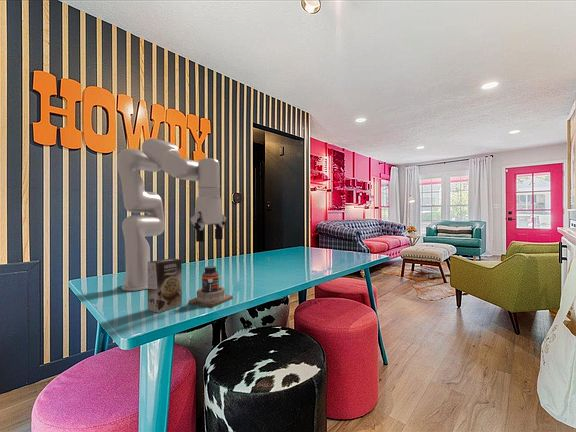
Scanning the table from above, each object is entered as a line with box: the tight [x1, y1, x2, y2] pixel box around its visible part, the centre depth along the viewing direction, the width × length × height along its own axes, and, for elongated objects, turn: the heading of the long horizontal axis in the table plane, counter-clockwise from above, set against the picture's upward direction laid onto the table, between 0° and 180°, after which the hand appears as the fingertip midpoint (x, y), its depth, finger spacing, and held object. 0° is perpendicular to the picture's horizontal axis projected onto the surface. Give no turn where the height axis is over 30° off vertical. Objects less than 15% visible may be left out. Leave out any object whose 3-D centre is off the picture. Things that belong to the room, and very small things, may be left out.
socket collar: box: [187, 286, 234, 308], centre depth 101 cm, size 11×11×4 cm
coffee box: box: [147, 258, 183, 314], centre depth 94 cm, size 9×6×16 cm
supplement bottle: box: [201, 265, 220, 293], centre depth 101 cm, size 6×6×11 cm
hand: (209, 240), depth 101 cm, fingers open, 9 cm apart
